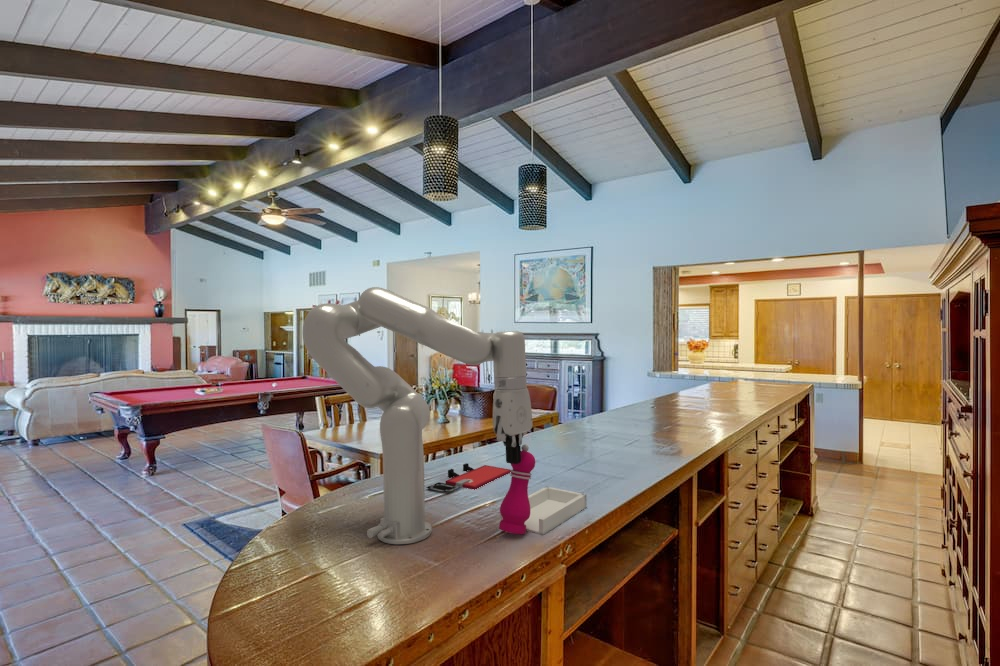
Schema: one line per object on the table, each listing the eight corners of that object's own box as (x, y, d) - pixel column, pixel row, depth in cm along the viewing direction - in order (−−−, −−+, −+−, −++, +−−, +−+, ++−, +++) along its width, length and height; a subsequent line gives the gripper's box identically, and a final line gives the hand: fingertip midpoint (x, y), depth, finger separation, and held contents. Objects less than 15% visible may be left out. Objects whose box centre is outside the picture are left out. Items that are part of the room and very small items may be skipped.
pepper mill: (511, 527, 121) (524, 444, 125) (533, 534, 116) (546, 448, 120) (490, 527, 116) (504, 440, 120) (512, 534, 111) (526, 444, 115)
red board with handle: (420, 489, 151) (460, 498, 143) (420, 480, 151) (460, 488, 143) (476, 467, 176) (512, 474, 169) (476, 459, 176) (512, 465, 169)
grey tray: (543, 534, 115) (543, 519, 115) (500, 523, 123) (500, 509, 123) (586, 507, 133) (586, 494, 133) (546, 498, 140) (546, 486, 140)
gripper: (504, 388, 108) (507, 472, 108) (541, 381, 119) (544, 457, 119) (477, 387, 112) (480, 468, 112) (516, 380, 124) (519, 454, 124)
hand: (513, 462), depth 116 cm, fingers closed
